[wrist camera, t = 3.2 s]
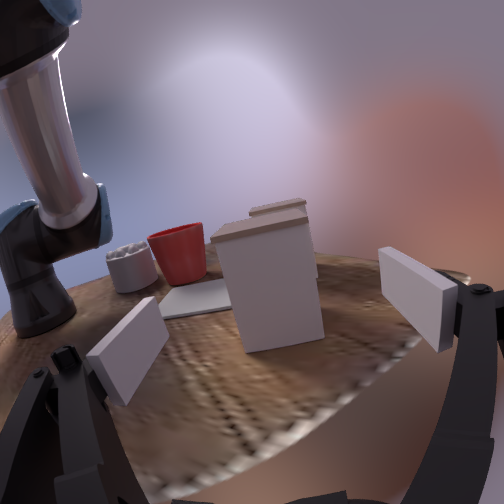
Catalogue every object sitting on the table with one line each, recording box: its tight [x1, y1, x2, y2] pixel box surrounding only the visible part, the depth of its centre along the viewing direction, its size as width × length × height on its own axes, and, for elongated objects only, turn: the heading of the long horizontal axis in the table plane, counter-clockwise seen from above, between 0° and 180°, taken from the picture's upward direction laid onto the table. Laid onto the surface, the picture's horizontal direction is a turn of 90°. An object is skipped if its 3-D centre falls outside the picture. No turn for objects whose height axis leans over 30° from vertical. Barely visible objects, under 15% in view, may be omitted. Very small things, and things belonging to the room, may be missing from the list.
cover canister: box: [210, 208, 325, 353], centre depth 25 cm, size 7×7×10 cm
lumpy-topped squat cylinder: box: [106, 241, 158, 293], centre depth 57 cm, size 10×13×9 cm
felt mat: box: [158, 278, 232, 319], centre depth 40 cm, size 12×12×1 cm
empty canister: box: [249, 198, 318, 278], centre depth 39 cm, size 7×7×10 cm
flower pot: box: [147, 222, 207, 285], centre depth 51 cm, size 11×11×10 cm
